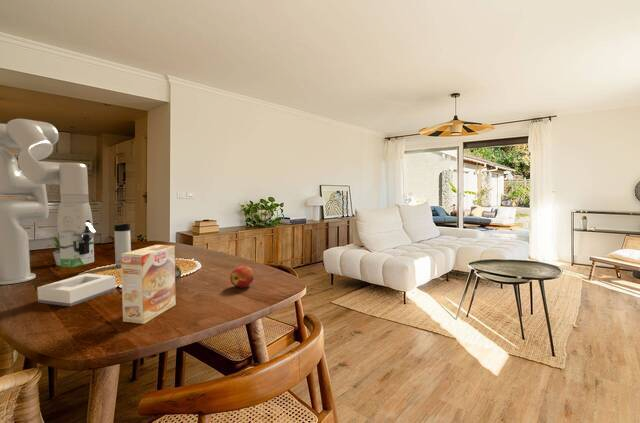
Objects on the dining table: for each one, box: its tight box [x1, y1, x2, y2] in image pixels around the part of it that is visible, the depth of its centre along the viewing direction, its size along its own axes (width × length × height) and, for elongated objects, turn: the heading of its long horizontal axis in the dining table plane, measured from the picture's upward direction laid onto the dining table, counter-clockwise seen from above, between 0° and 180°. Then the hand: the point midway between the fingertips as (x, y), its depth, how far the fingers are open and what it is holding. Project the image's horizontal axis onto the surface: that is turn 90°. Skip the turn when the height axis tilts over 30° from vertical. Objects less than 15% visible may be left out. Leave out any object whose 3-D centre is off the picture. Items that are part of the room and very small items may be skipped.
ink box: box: [58, 231, 95, 268], centre depth 110 cm, size 9×5×12 cm, turn 168°
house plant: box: [45, 232, 61, 267], centre depth 151 cm, size 14×14×16 cm
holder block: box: [36, 272, 117, 307], centre depth 111 cm, size 13×17×5 cm
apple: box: [229, 265, 255, 289], centre depth 123 cm, size 8×8×8 cm
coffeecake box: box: [120, 244, 177, 325], centre depth 97 cm, size 15×7×20 cm, turn 170°
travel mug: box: [113, 223, 132, 268], centre depth 150 cm, size 6×7×20 cm
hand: (77, 252), depth 110 cm, fingers closed on ink box, 5 cm apart
